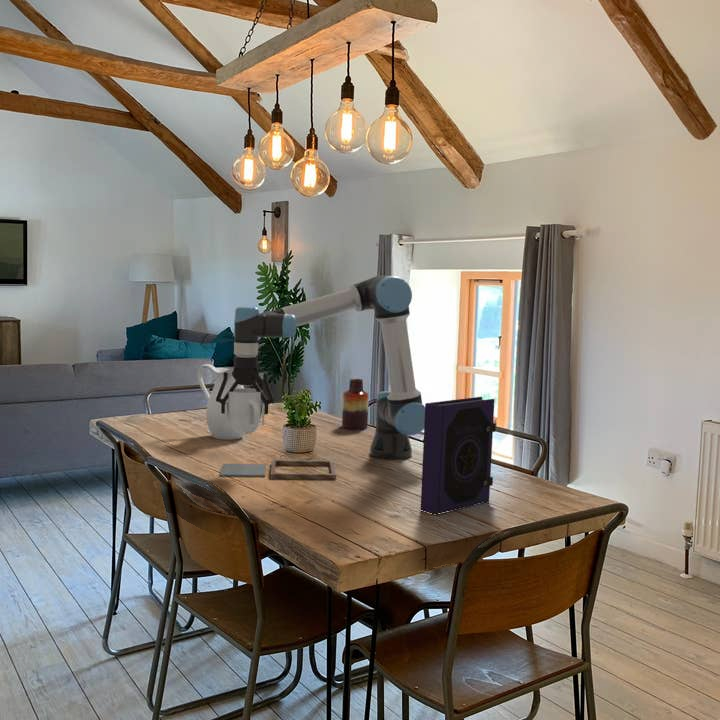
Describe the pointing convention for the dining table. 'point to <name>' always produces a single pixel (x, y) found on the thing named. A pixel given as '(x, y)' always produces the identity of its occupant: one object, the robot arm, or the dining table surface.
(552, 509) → the dining table surface
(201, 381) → the pitcher
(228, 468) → the slate trivet
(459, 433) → the book
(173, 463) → the dining table surface
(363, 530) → the dining table surface
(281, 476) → the frame
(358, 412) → the vase
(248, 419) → the mug
